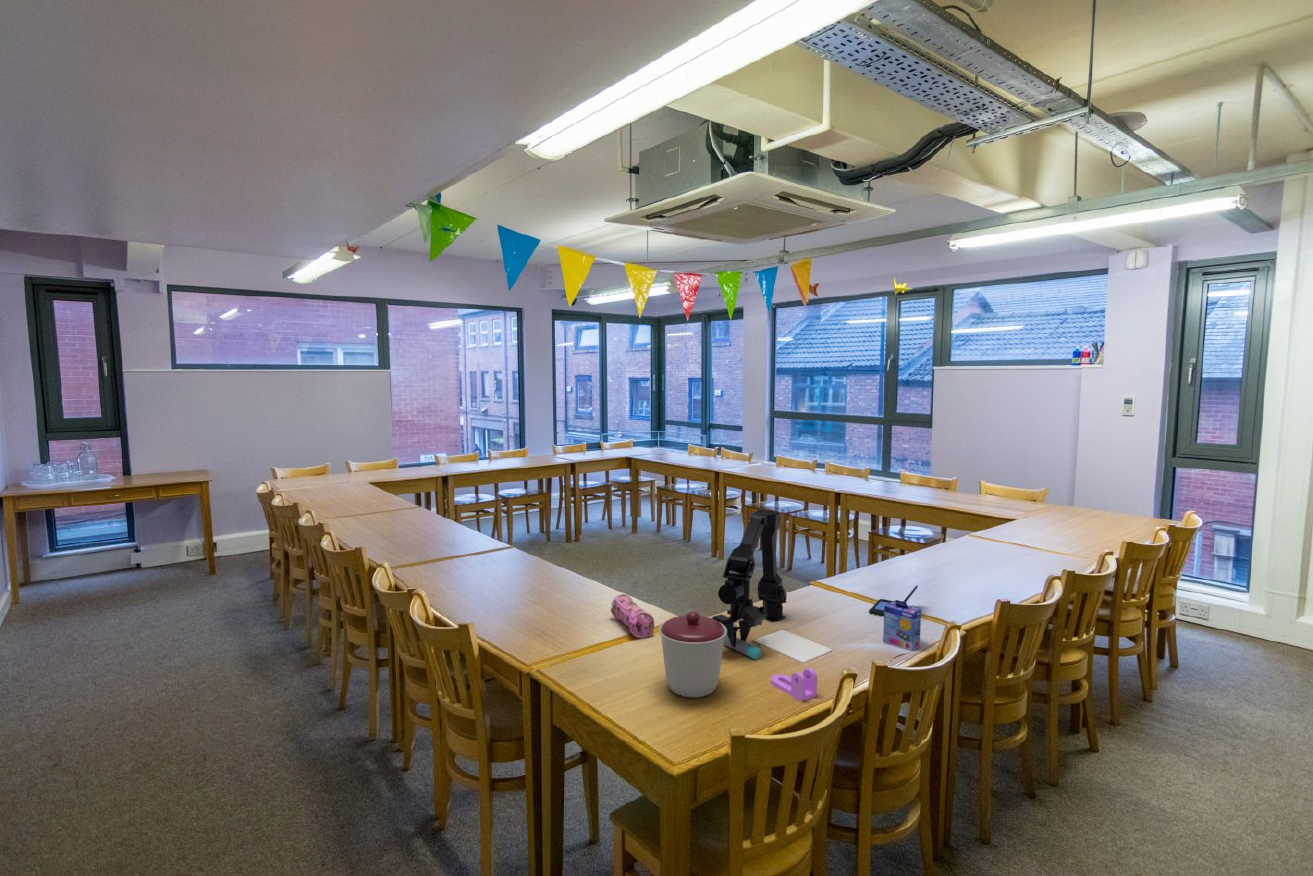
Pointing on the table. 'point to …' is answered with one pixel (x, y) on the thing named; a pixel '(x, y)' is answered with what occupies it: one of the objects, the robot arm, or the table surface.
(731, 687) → the table surface
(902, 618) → the ink cartridge box
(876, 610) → the handheld game console
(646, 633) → the pencil case
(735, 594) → the robot arm
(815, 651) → the paper sheet
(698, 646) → the canister
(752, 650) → the marker
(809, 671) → the bracket
